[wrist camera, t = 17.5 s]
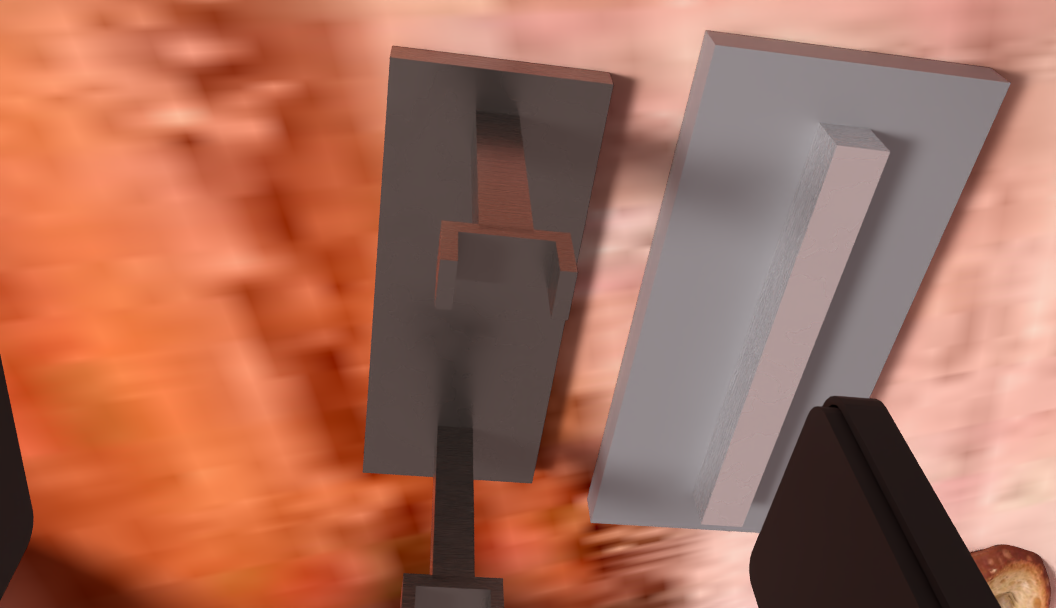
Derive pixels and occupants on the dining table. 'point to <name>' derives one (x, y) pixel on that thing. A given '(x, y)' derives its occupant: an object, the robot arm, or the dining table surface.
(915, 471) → the robot arm
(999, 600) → the bread slice
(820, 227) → the rail
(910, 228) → the board
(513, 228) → the rack
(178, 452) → the dining table surface
